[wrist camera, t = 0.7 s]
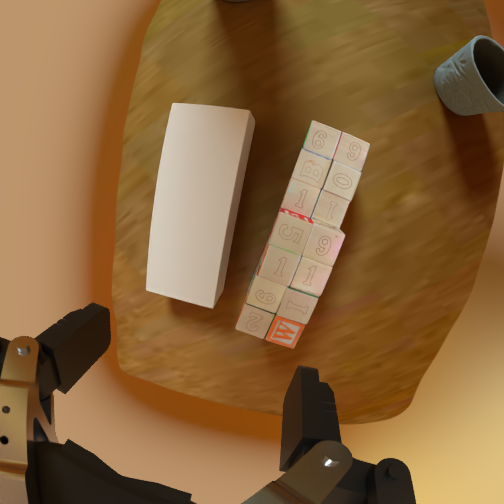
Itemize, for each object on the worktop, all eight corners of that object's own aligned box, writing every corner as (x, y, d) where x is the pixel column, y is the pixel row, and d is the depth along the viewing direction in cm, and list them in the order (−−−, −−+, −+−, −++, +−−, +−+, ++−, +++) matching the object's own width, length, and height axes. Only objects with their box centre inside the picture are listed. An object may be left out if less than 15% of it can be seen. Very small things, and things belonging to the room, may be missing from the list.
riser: (189, 113, 33) (172, 102, 27) (255, 122, 32) (249, 110, 26) (164, 275, 39) (146, 290, 33) (223, 290, 38) (212, 308, 32)
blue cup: (470, 69, 25) (511, 48, 13) (483, 126, 27) (532, 117, 16) (422, 57, 26) (460, 25, 15) (436, 118, 29) (485, 101, 17)
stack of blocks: (305, 134, 32) (316, 110, 20) (351, 153, 32) (383, 139, 20) (249, 285, 38) (233, 330, 26) (291, 301, 38) (293, 351, 26)
